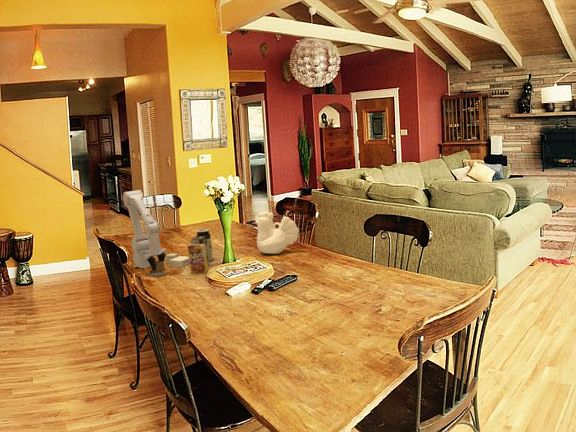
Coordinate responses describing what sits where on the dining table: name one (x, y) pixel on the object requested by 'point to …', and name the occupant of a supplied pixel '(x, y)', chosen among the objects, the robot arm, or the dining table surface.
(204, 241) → the coffee box
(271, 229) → the decorative rooster
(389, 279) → the dining table surface
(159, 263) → the walnut block
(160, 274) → the card
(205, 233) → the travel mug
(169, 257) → the sage block
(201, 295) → the dining table surface
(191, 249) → the candy box
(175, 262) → the base block
